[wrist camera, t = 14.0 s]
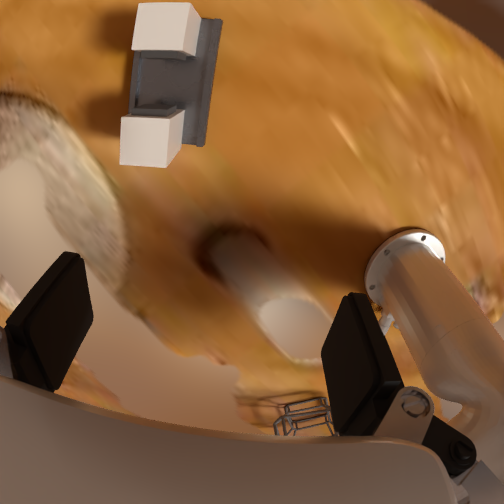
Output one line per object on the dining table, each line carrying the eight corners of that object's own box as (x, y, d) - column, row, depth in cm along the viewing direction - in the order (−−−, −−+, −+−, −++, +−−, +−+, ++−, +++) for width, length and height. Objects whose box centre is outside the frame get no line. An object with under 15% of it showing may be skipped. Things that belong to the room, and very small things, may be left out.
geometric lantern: (275, 430, 62) (284, 573, 32) (262, 395, 55) (270, 575, 24) (344, 417, 61) (371, 559, 31) (346, 379, 53) (384, 557, 23)
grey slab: (205, 143, 31) (203, 147, 29) (130, 138, 30) (125, 141, 29) (223, 21, 24) (222, 19, 23) (143, 19, 23) (138, 17, 22)
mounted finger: (194, 62, 25) (181, 57, 19) (153, 60, 25) (130, 57, 19) (201, 18, 23) (190, 2, 17) (160, 17, 23) (138, 3, 17)
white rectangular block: (181, 148, 30) (166, 168, 24) (143, 145, 29) (119, 164, 24) (185, 103, 28) (170, 111, 22) (146, 101, 27) (121, 109, 21)
